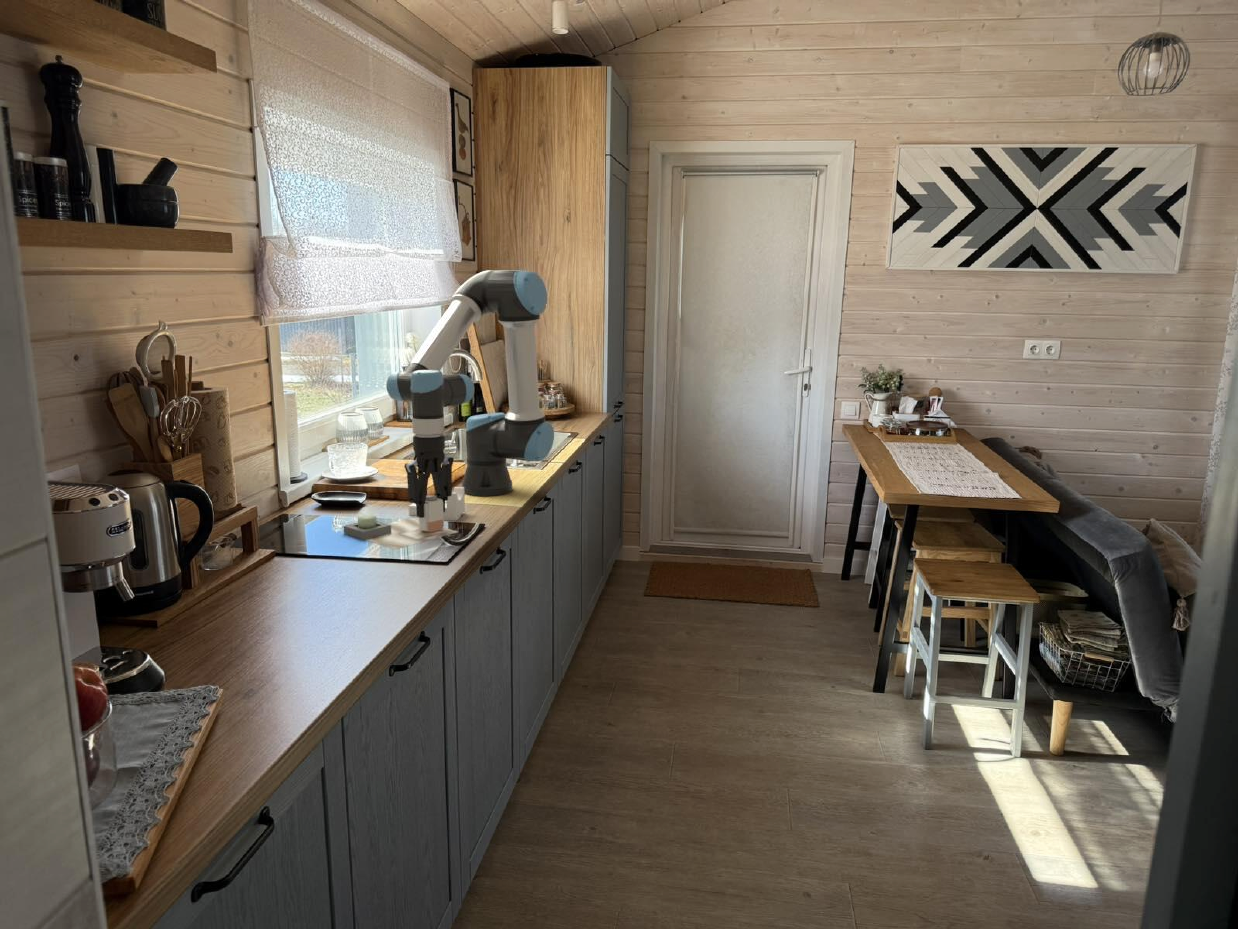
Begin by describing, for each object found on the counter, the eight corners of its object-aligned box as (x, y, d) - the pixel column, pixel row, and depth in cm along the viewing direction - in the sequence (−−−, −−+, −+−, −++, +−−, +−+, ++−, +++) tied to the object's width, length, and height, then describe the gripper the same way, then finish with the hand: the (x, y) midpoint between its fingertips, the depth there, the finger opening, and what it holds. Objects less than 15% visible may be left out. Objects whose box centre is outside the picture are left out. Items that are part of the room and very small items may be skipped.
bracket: (465, 514, 233) (464, 487, 232) (456, 521, 226) (455, 493, 225) (419, 512, 235) (418, 485, 234) (409, 518, 228) (408, 491, 227)
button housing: (371, 526, 216) (371, 519, 216) (391, 532, 212) (391, 525, 211) (343, 533, 210) (343, 525, 210) (363, 540, 205) (363, 532, 205)
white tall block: (432, 525, 216) (431, 493, 215) (443, 528, 214) (442, 496, 212) (420, 529, 213) (418, 496, 212) (430, 532, 211) (429, 499, 209)
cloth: (411, 519, 226) (410, 516, 226) (464, 534, 214) (464, 531, 213) (341, 536, 210) (340, 533, 210) (394, 554, 198) (394, 550, 197)
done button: (369, 523, 214) (369, 514, 213) (380, 527, 211) (380, 517, 210) (354, 527, 210) (353, 517, 210) (365, 531, 208) (364, 521, 207)
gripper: (446, 428, 217) (448, 518, 222) (389, 437, 204) (393, 532, 209) (466, 432, 213) (468, 523, 218) (409, 441, 200) (413, 538, 205)
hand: (431, 527), depth 213 cm, fingers closed on white tall block, 4 cm apart
